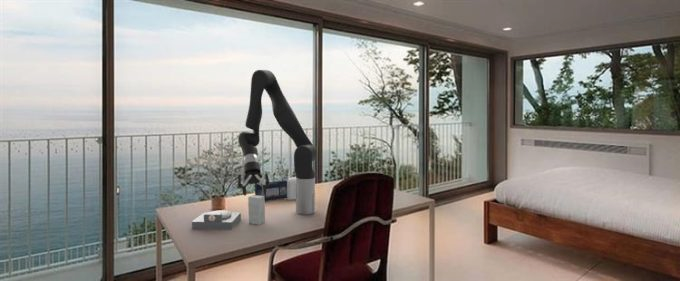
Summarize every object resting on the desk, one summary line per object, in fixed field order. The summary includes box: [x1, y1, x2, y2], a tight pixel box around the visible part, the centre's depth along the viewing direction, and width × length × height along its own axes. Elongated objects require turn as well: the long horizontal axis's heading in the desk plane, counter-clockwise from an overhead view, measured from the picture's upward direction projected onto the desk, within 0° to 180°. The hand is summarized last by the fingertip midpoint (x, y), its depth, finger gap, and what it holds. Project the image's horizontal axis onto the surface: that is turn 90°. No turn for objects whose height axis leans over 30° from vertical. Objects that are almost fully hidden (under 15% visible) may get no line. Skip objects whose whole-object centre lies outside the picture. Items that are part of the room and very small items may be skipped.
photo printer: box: [286, 176, 296, 201], centre depth 212 cm, size 10×4×12 cm, turn 123°
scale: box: [191, 209, 242, 230], centre depth 168 cm, size 17×14×6 cm
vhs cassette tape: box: [254, 179, 288, 202], centre depth 209 cm, size 18×3×10 cm, turn 120°
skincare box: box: [247, 194, 266, 225], centre depth 170 cm, size 6×4×12 cm
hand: (254, 194), depth 175 cm, fingers open, 8 cm apart
